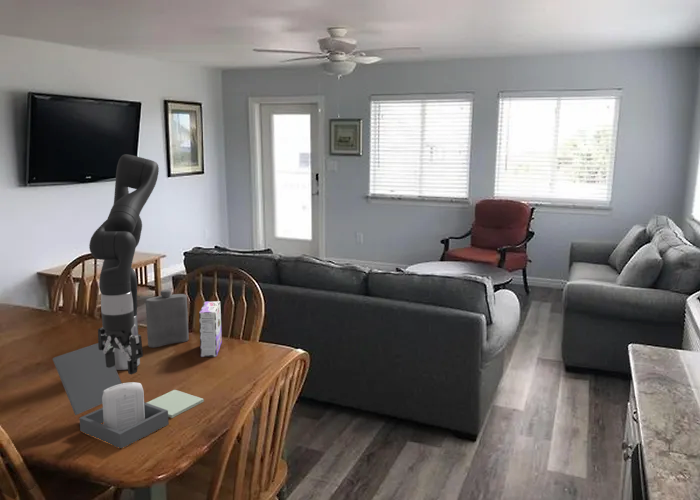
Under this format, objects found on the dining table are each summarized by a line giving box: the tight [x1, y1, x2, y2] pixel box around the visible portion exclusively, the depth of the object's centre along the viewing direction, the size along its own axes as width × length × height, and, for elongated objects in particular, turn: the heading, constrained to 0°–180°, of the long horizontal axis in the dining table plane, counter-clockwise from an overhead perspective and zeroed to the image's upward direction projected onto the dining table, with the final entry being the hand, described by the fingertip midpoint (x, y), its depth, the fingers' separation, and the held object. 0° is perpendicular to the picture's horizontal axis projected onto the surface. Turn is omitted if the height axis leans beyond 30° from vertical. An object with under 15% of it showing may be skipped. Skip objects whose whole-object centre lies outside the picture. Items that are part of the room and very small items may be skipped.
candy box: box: [198, 300, 223, 358], centre depth 209 cm, size 14×6×16 cm, turn 5°
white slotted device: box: [102, 381, 146, 431], centre depth 152 cm, size 10×4×12 cm, turn 123°
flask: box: [145, 289, 190, 349], centre depth 215 cm, size 15×6×20 cm, turn 125°
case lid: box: [52, 341, 122, 416], centre depth 158 cm, size 16×15×2 cm
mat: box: [146, 389, 205, 419], centre depth 167 cm, size 12×12×1 cm
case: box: [78, 401, 169, 449], centre depth 153 cm, size 16×15×4 cm
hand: (121, 370), depth 150 cm, fingers open, 8 cm apart
